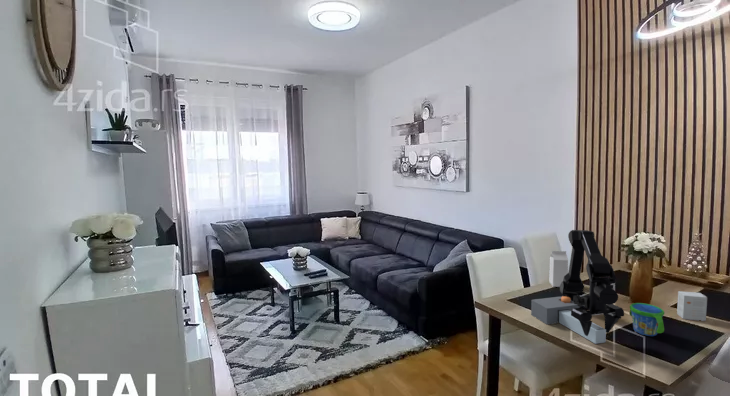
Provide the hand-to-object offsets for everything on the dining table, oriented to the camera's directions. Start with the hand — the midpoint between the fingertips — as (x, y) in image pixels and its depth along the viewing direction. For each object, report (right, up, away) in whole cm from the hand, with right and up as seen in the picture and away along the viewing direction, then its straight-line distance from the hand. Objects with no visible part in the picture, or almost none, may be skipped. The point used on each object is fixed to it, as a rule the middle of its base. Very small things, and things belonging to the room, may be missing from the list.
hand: (596, 334), depth 138 cm
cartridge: (-1, -2, +8) cm, 8 cm away
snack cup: (+23, -2, +6) cm, 24 cm away
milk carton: (+18, +3, +62) cm, 65 cm away
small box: (+52, 0, +19) cm, 56 cm away
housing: (-5, -1, +22) cm, 22 cm away
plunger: (+1, +4, +22) cm, 23 cm away
